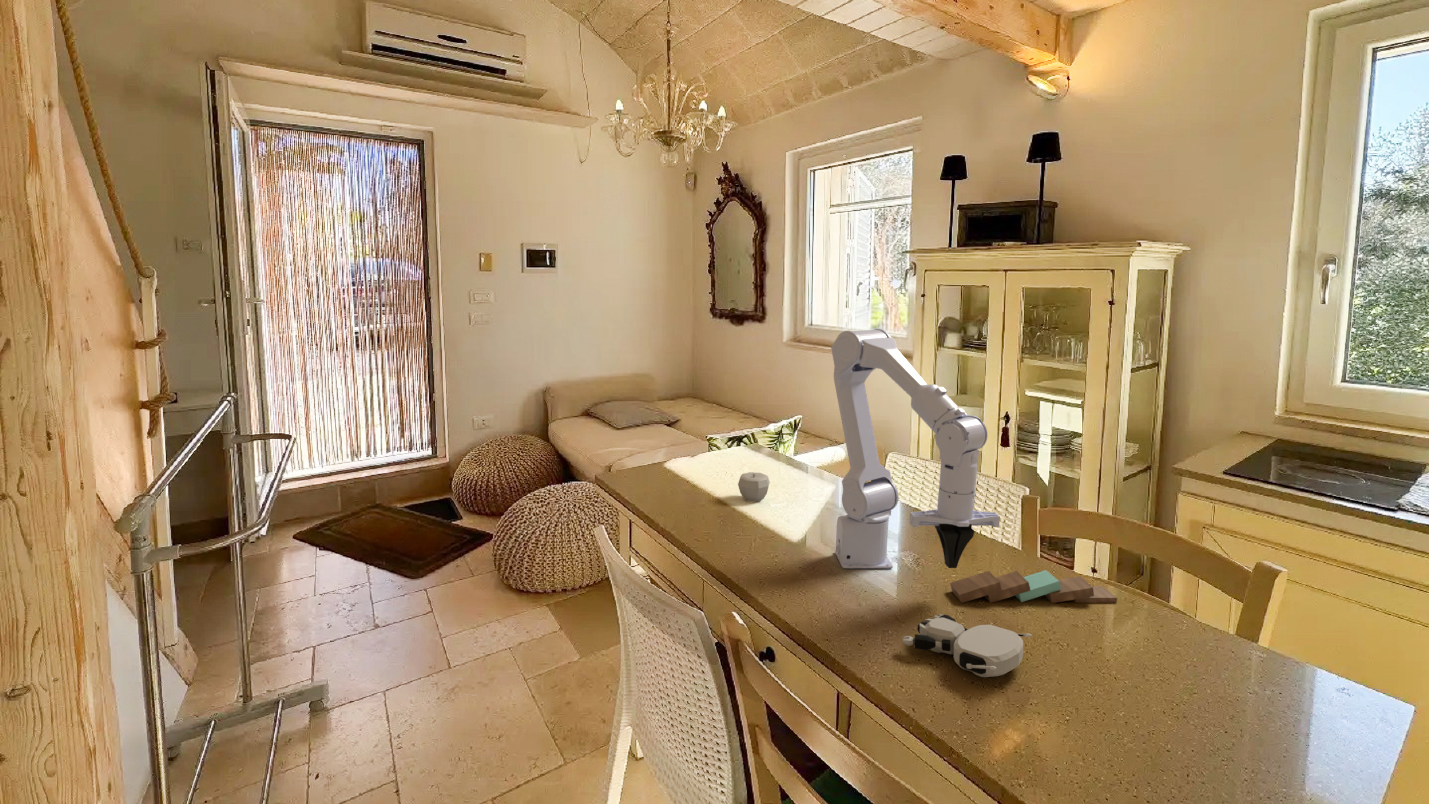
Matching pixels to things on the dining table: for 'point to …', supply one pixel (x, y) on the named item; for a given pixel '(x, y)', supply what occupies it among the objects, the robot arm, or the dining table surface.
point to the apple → (753, 486)
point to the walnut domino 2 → (1009, 586)
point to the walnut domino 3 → (1071, 590)
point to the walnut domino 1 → (975, 586)
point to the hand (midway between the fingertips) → (950, 565)
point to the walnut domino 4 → (1098, 596)
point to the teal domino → (1039, 585)
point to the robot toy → (971, 645)
